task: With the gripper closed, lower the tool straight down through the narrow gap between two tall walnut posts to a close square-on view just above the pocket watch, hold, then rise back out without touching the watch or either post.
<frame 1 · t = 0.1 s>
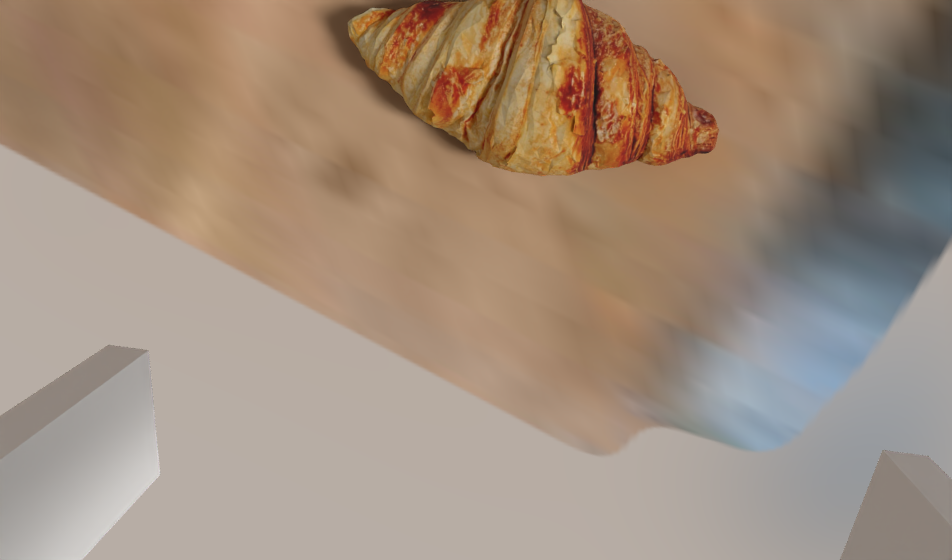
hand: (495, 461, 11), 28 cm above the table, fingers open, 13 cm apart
croissant: (531, 77, 36), on the table
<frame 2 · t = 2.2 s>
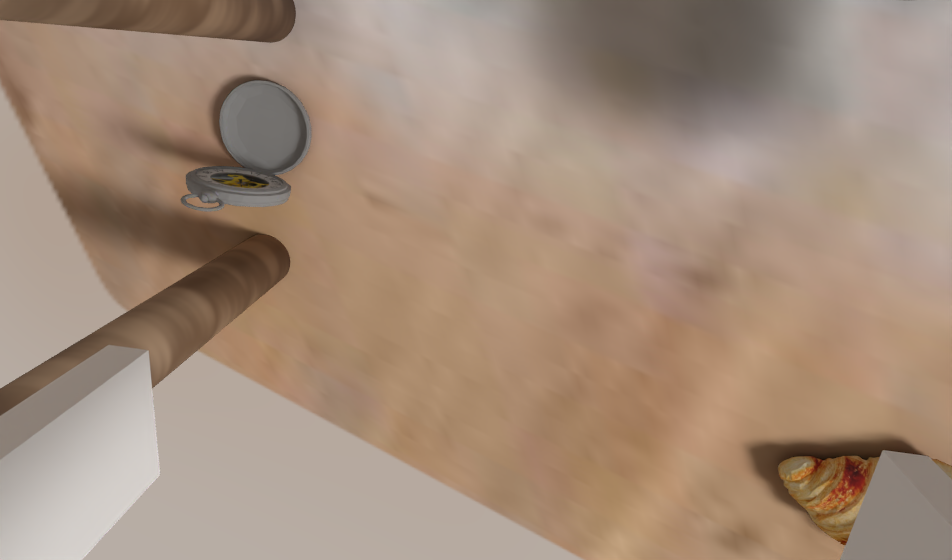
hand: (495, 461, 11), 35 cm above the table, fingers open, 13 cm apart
croissant: (891, 492, 50), on the table
pocket watch: (267, 143, 45), on the table
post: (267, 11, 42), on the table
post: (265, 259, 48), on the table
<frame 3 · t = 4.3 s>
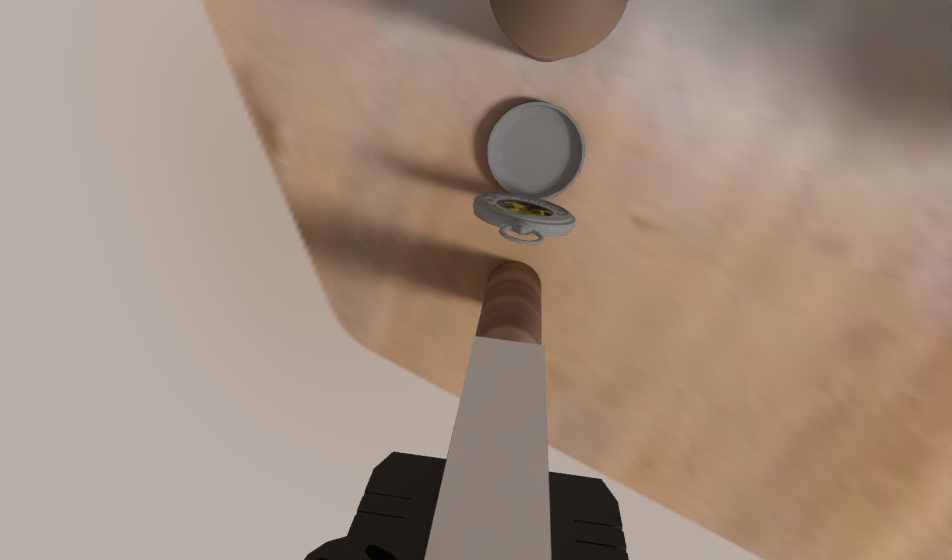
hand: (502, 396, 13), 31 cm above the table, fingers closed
pocket watch: (529, 166, 43), on the table
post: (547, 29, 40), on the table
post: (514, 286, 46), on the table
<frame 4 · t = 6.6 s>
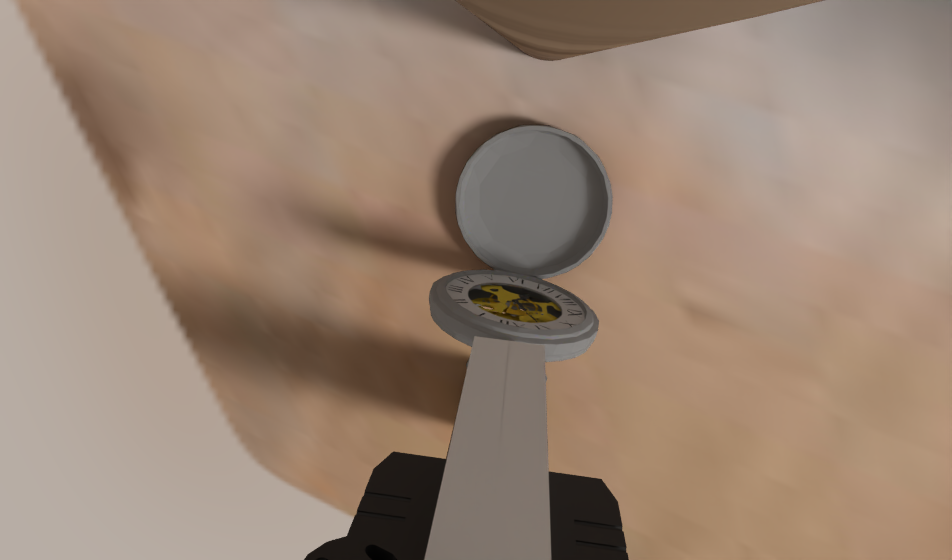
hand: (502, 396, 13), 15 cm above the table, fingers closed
pocket watch: (524, 224, 27), on the table
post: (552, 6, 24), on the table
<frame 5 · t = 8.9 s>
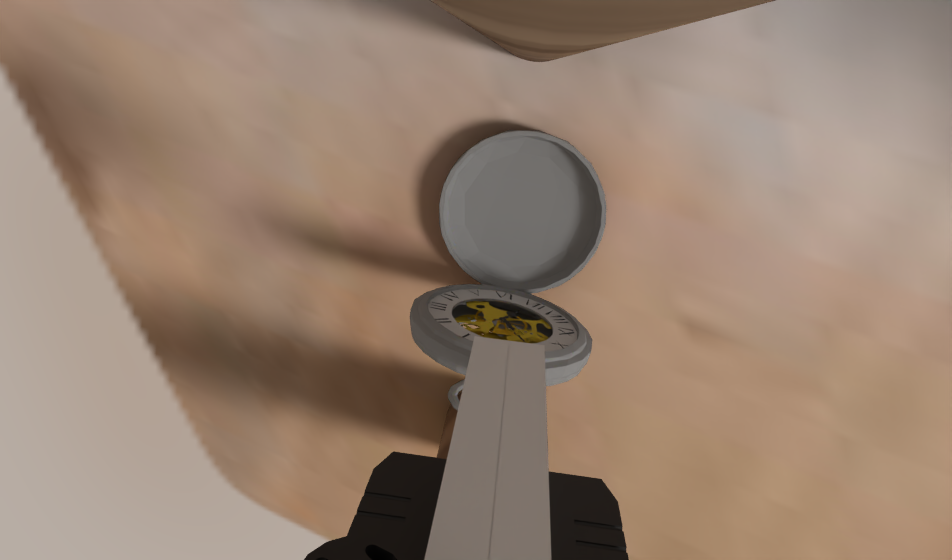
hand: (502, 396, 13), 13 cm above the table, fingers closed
pocket watch: (512, 235, 26), on the table
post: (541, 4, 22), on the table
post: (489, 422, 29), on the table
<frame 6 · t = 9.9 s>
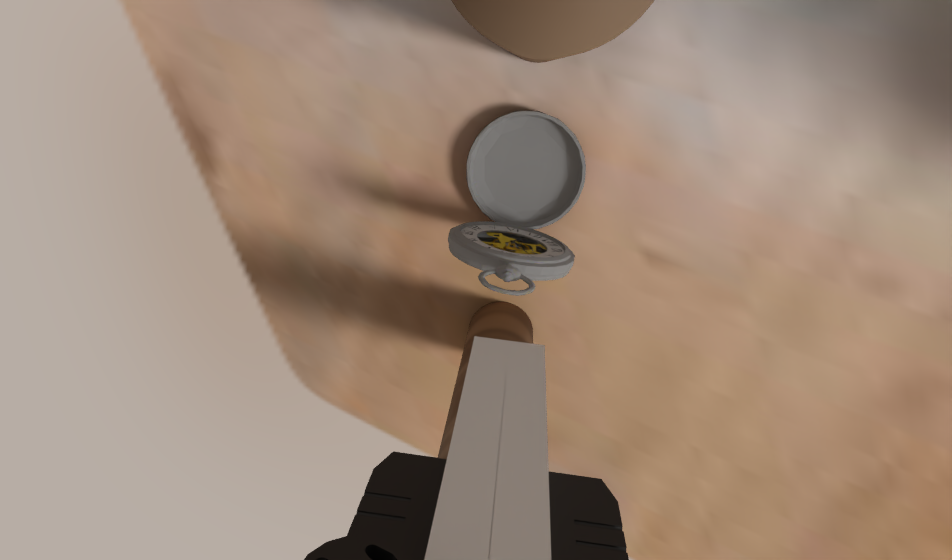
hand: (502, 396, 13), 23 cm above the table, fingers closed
pocket watch: (518, 188, 35), on the table
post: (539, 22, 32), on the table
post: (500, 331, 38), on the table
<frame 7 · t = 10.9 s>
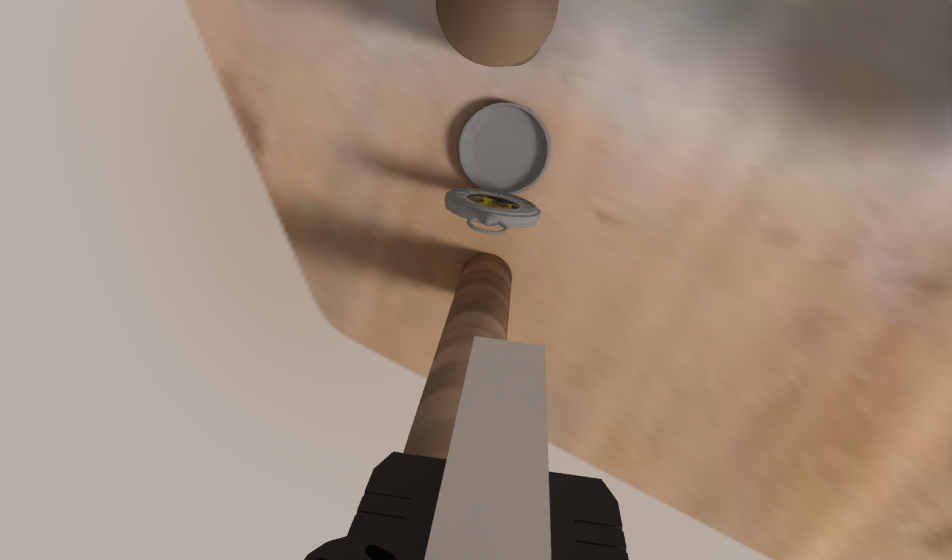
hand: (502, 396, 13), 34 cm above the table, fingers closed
pocket watch: (499, 163, 46), on the table
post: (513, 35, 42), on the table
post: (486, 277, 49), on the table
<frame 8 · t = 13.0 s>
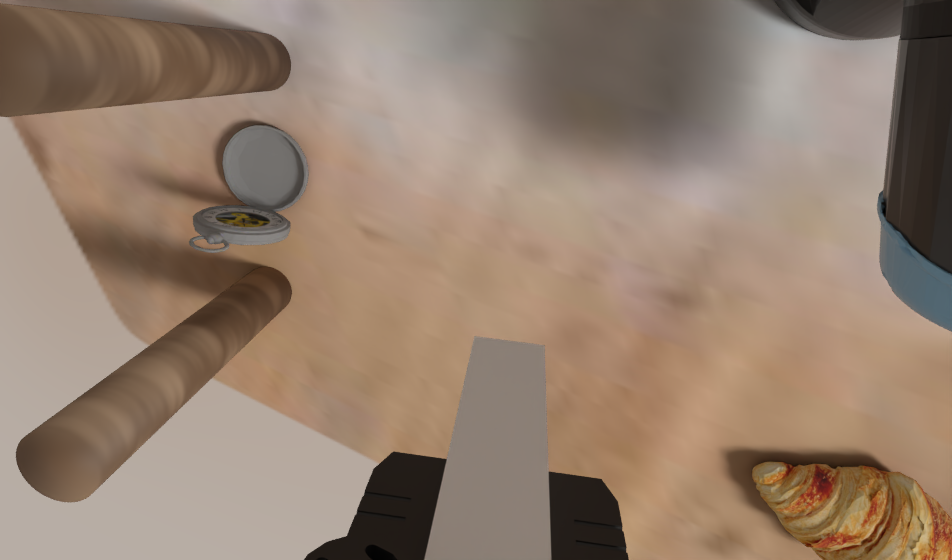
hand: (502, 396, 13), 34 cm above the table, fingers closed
croissant: (855, 501, 53), on the table
pocket watch: (267, 181, 48), on the table
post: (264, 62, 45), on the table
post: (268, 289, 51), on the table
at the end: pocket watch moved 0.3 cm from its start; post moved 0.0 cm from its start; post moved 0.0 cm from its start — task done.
